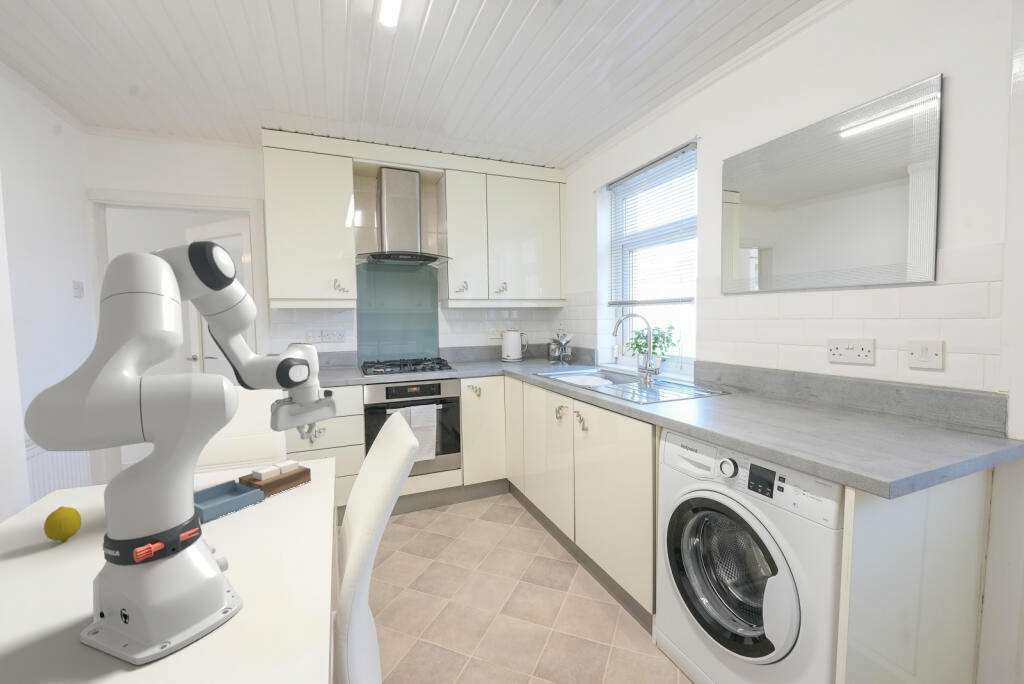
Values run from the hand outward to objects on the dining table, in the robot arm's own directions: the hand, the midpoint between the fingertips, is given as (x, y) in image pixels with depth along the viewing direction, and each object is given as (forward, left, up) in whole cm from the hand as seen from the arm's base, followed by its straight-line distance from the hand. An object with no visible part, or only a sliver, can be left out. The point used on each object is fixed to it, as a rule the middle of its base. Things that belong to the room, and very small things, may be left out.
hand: (306, 438), depth 127 cm
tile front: (-1, +13, -7) cm, 15 cm away
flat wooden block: (-1, +10, -11) cm, 16 cm away
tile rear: (-1, +7, -7) cm, 11 cm away
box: (-1, +24, -11) cm, 27 cm away
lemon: (+11, +50, -12) cm, 53 cm away
